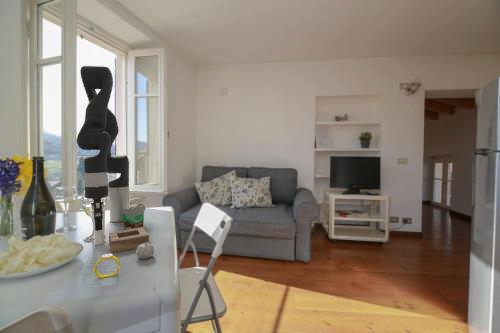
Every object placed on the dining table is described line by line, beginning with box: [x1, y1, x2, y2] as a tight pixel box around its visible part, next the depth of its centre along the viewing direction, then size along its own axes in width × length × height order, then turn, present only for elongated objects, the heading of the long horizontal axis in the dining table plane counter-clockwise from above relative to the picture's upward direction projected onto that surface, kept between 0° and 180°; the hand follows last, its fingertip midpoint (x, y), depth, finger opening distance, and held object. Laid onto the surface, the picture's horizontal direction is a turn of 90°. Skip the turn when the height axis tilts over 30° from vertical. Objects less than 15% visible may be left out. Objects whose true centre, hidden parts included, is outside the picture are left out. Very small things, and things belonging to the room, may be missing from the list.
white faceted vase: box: [90, 209, 107, 246], centre depth 91 cm, size 5×4×15 cm
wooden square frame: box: [108, 226, 150, 254], centre depth 90 cm, size 12×12×4 cm
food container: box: [121, 203, 146, 230], centre depth 110 cm, size 12×6×10 cm, turn 168°
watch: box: [93, 253, 121, 279], centre depth 66 cm, size 6×3×6 cm, turn 112°
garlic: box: [135, 241, 155, 260], centre depth 78 cm, size 6×5×5 cm
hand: (98, 227), depth 91 cm, fingers open, 8 cm apart
